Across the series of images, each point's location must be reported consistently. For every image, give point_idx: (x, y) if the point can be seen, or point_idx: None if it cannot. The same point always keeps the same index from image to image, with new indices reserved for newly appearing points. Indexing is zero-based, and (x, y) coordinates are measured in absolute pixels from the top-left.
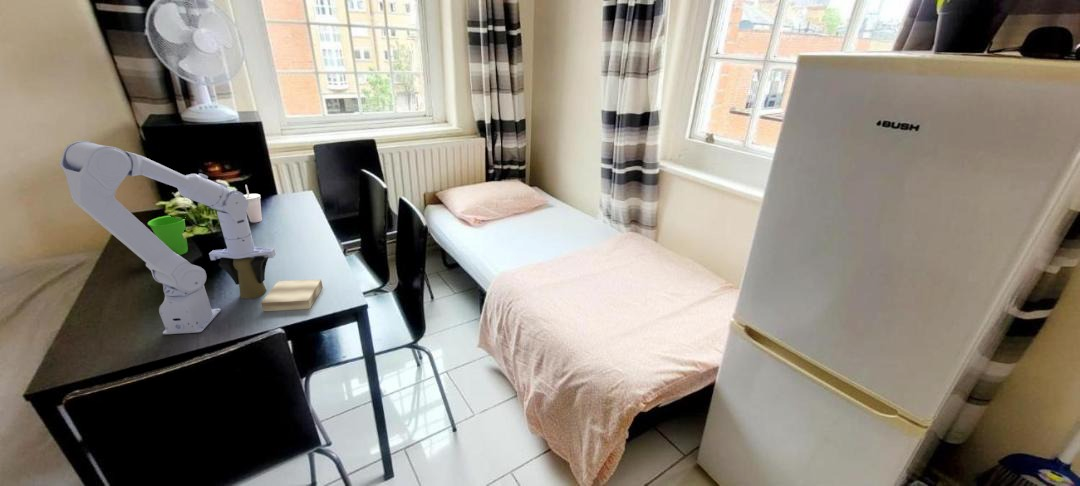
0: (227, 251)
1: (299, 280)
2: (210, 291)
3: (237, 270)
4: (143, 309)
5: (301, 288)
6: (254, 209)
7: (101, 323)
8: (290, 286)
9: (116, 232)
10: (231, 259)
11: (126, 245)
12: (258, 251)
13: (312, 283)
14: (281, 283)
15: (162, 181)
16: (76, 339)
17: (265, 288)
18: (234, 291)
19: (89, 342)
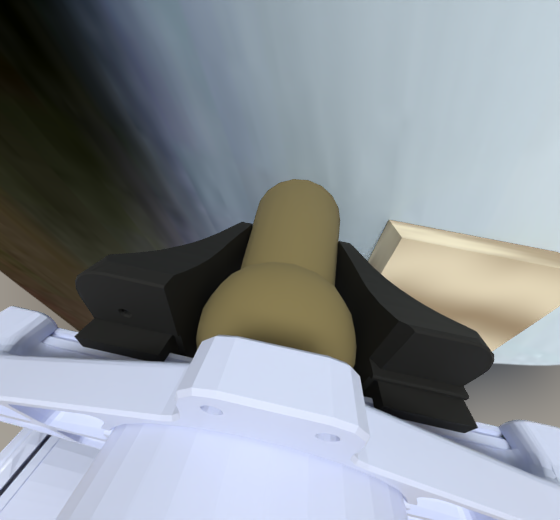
0: (101, 440)
1: (499, 259)
2: (139, 163)
3: (228, 265)
4: (46, 229)
5: (475, 316)
6: None
7: (27, 263)
8: (441, 293)
9: None
10: (181, 354)
11: None
12: (427, 504)
13: (537, 296)
14: (413, 262)
15: None
16: (50, 298)
17: (339, 223)
18: (225, 189)
19: (80, 311)
